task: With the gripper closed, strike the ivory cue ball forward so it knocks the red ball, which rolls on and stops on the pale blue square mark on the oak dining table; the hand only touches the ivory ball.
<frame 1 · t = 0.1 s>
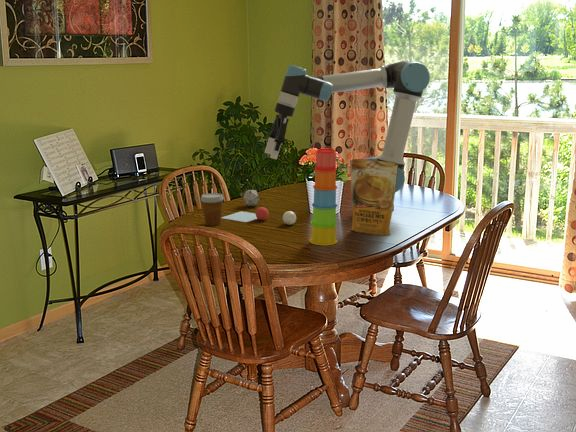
hand: (270, 156, 284), 28 cm above the table, tool tilted 20°, fingers open, 13 cm apart
cue ball: (289, 217, 288), on the table
stacking cups: (323, 242, 262), on the table
pancake mix bag: (371, 232, 275), on the table
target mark: (243, 216, 302), on the table
game die: (251, 206, 322), on the table
disposable coffee cup: (213, 224, 291), on the table
red ball: (262, 213, 296), on the table
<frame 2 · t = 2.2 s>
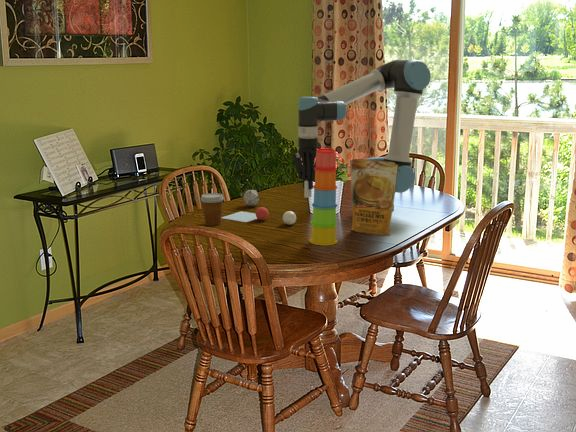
hand: (307, 196, 280), 13 cm above the table, tool pointing down, fingers closed
nothing on the table moved.
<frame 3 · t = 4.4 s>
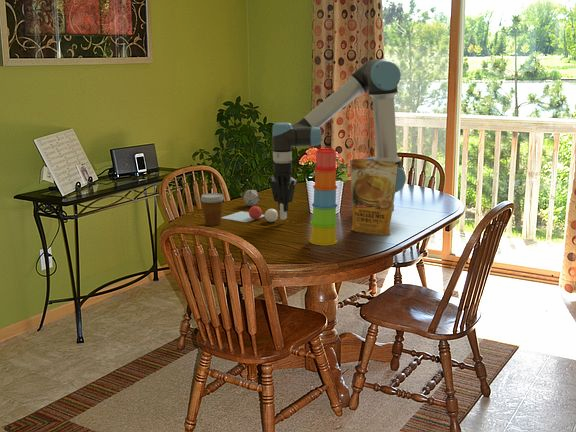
hand: (283, 218, 290), 2 cm above the table, tool pointing down, fingers closed
cue ball: (271, 215, 292), on the table
red ball: (255, 212, 298), on the table
everything else where it was.
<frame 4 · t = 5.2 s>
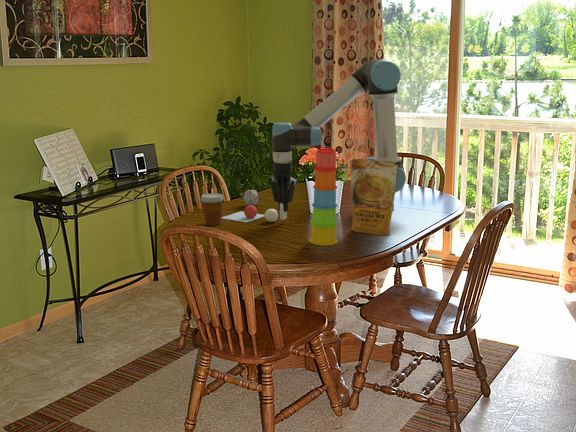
hand: (283, 218, 290), 2 cm above the table, tool pointing down, fingers closed
red ball: (250, 211, 299), on the table
everything else where it was.
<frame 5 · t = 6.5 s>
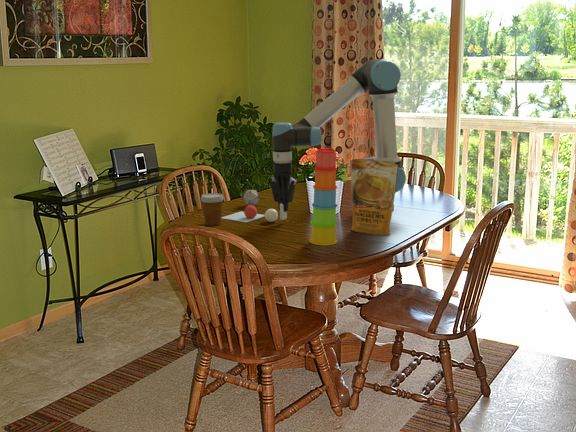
hand: (283, 218, 290), 2 cm above the table, tool pointing down, fingers closed
nothing on the table moved.
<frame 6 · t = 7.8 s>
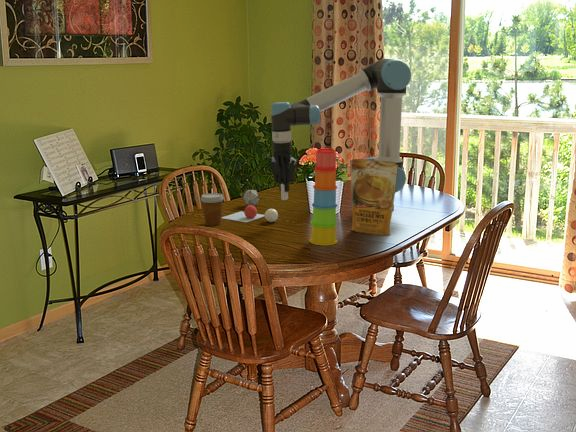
hand: (284, 199, 288), 10 cm above the table, tool pointing down, fingers closed
nothing on the table moved.
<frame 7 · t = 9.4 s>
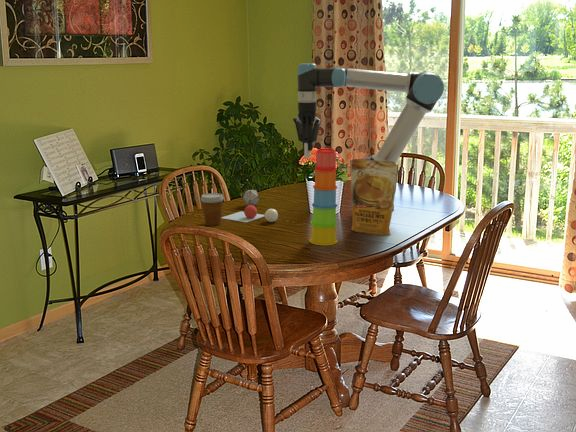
hand: (307, 158, 299), 24 cm above the table, tool pointing down, fingers closed
nothing on the table moved.
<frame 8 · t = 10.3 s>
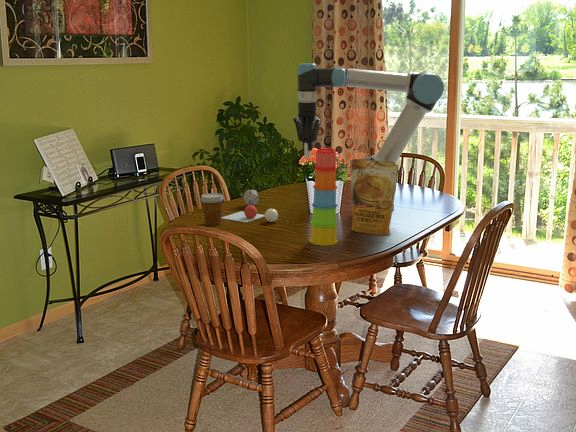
hand: (307, 158, 299), 24 cm above the table, tool pointing down, fingers closed
nothing on the table moved.
at the end: red ball 3.9 cm from the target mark (horizontally); red ball never touched the robot; cue ball first touched red ball at 3.9 s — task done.
